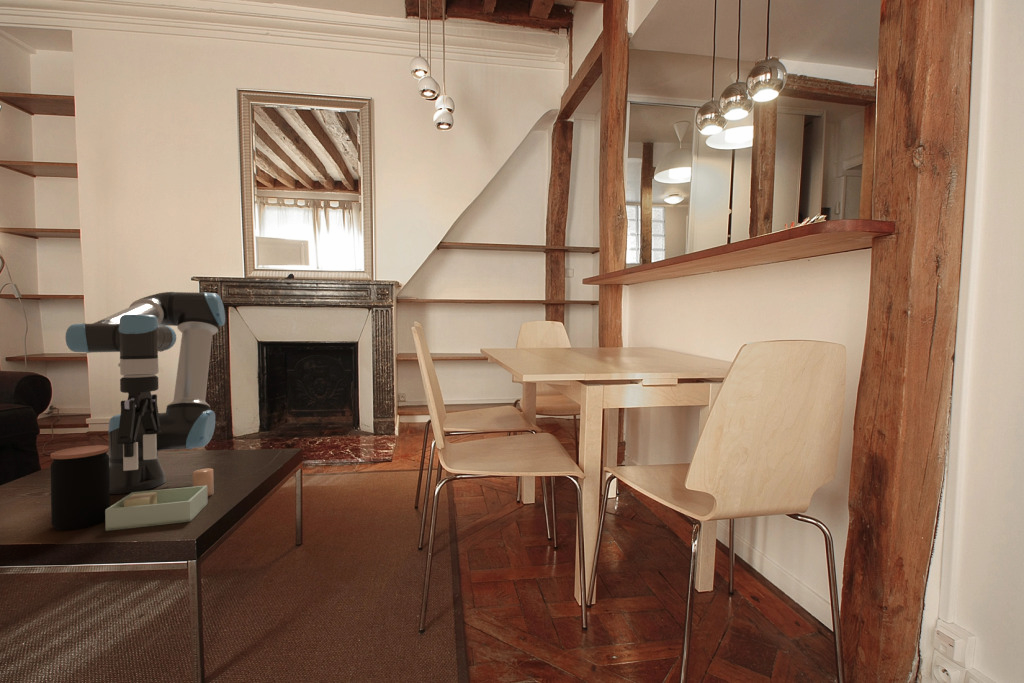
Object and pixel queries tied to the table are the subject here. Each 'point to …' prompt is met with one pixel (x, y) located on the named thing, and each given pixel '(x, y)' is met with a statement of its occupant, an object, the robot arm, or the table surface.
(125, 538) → the table surface
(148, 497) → the beech cube
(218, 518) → the table surface
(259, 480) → the table surface
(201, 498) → the tray
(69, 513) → the coffee jar
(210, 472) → the peach block
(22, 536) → the table surface
